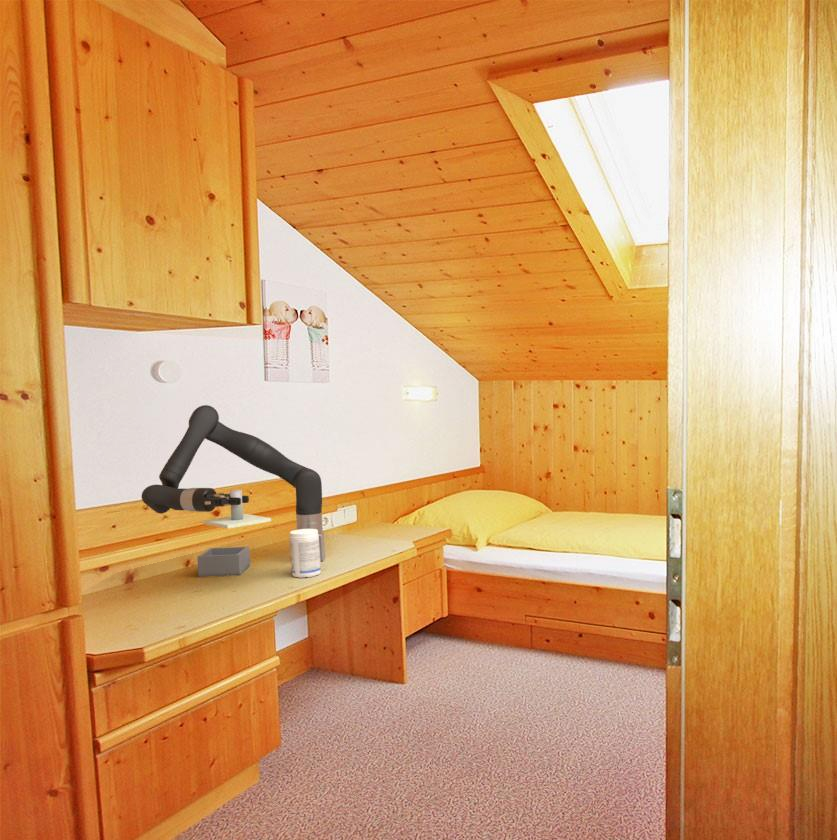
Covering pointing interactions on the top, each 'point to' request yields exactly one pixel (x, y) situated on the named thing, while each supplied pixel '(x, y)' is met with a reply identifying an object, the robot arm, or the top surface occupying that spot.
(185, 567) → the top surface
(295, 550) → the supplement tub
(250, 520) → the lid
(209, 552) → the parts box
